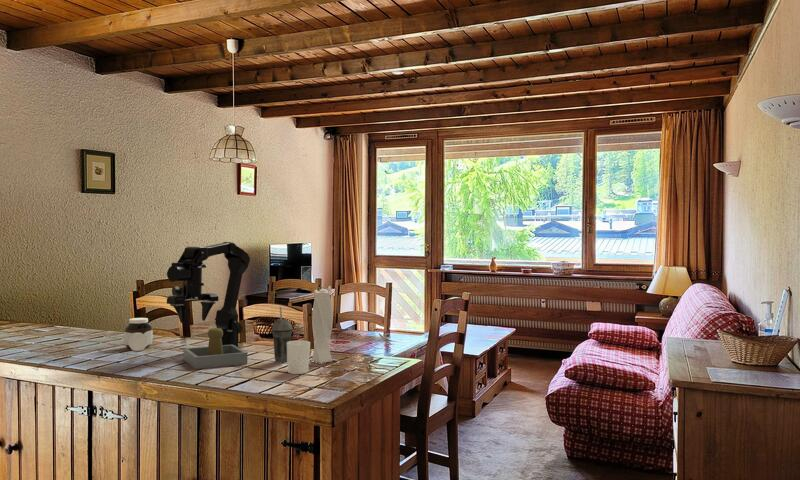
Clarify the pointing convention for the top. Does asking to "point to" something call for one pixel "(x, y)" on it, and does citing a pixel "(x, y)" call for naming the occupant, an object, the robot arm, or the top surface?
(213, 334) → the olive gourd-shaped piece
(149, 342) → the spread jar
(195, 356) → the tray
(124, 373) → the top surface
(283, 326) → the beverage cup
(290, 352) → the white cup
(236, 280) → the robot arm
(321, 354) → the grey tall twisted column
